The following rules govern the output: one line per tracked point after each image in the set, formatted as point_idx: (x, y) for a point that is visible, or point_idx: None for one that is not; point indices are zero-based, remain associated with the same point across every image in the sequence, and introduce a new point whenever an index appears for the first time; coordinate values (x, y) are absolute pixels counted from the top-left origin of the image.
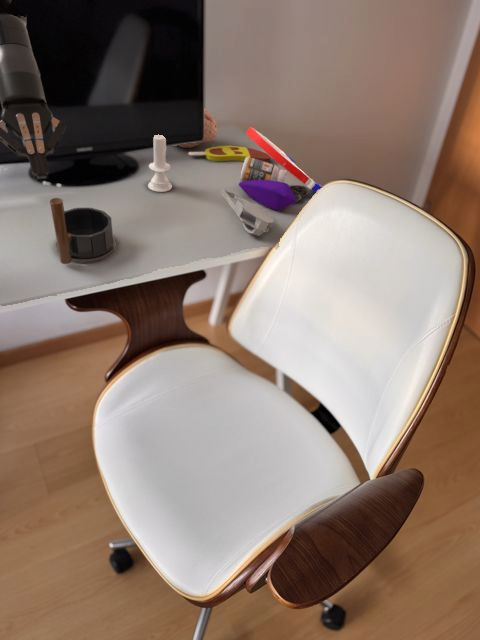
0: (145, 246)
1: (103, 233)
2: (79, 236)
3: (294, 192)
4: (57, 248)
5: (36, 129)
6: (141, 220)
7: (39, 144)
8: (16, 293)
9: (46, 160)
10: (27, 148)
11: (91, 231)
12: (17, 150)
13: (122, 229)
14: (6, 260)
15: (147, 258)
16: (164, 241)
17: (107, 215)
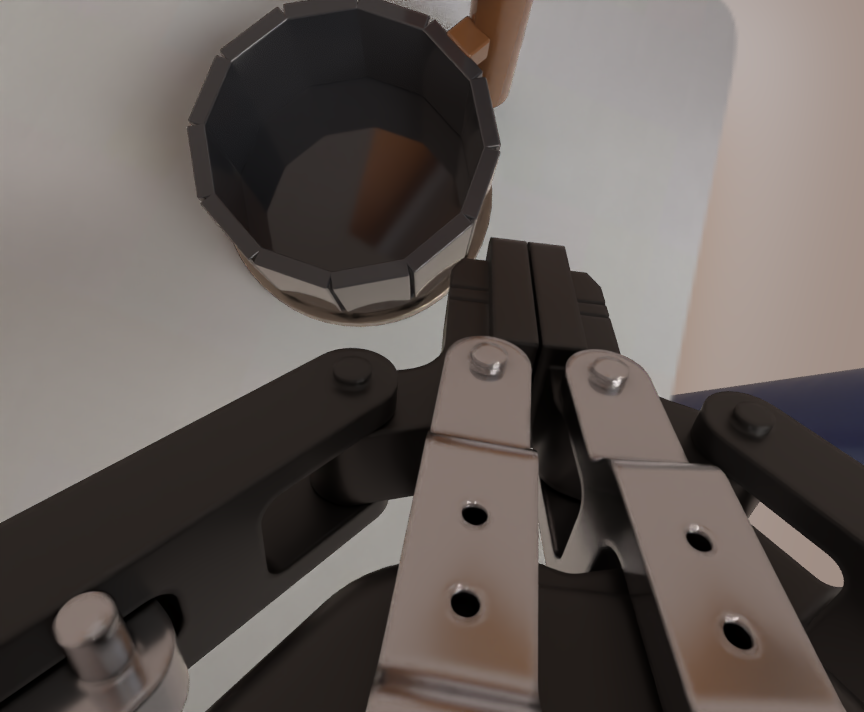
0: (120, 106)
1: (286, 5)
2: (411, 13)
3: None
4: (490, 194)
5: (496, 551)
6: (31, 314)
7: (491, 408)
8: (705, 8)
9: (451, 314)
10: (649, 397)
11: (305, 246)
12: (767, 403)
13: (154, 272)
14: (700, 225)
15: (154, 23)
16: (21, 110)
17: (197, 147)
